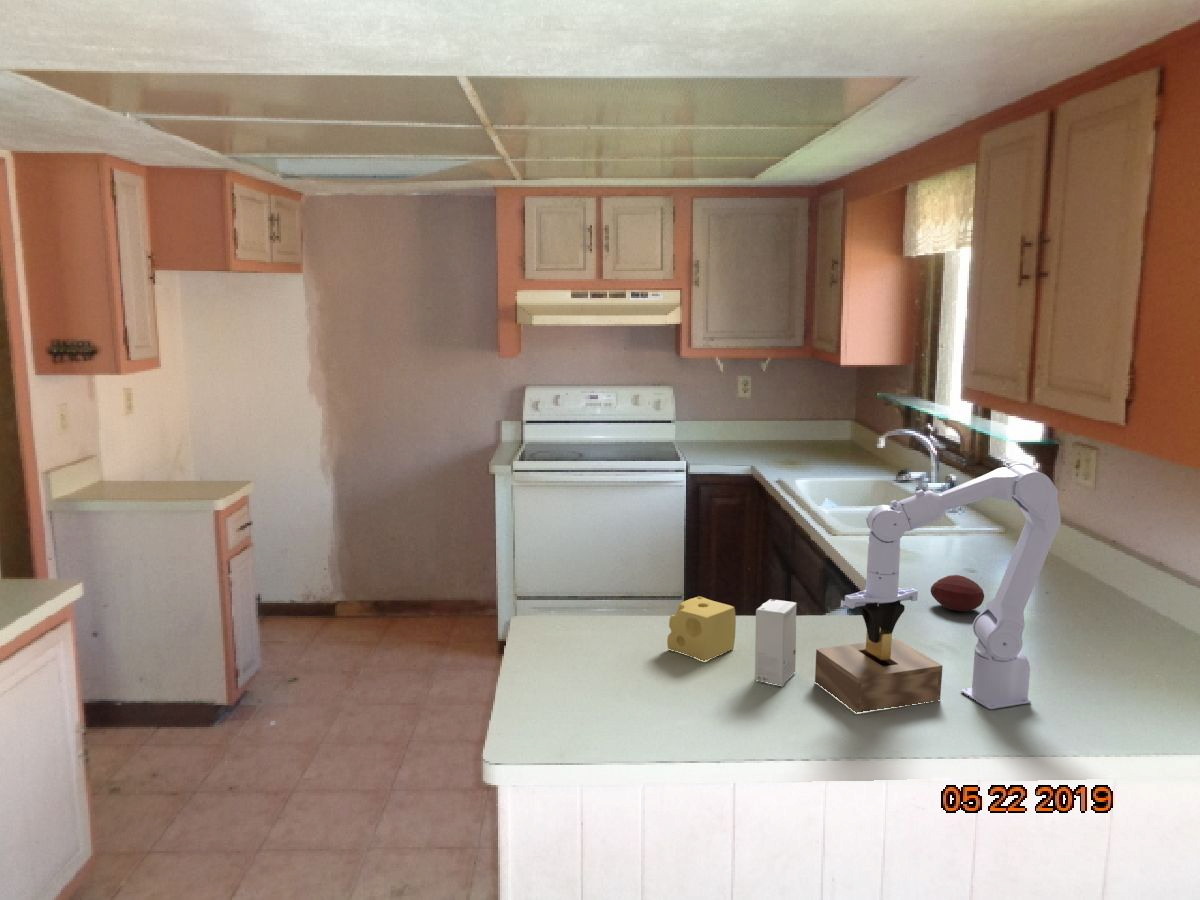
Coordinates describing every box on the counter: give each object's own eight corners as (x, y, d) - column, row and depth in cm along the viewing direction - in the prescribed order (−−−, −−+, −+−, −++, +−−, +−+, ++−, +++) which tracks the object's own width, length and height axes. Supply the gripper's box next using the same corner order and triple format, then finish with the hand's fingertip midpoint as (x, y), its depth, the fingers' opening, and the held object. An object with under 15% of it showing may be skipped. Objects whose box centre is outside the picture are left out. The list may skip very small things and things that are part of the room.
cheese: (666, 650, 192) (667, 605, 190) (699, 637, 199) (700, 593, 198) (705, 664, 185) (706, 618, 183) (737, 650, 192) (738, 605, 190)
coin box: (894, 671, 181) (896, 638, 180) (940, 701, 168) (942, 665, 167) (814, 683, 176) (816, 649, 174) (856, 714, 162) (857, 678, 161)
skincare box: (782, 688, 173) (785, 614, 171) (752, 681, 176) (754, 609, 174) (796, 672, 181) (798, 601, 178) (767, 666, 183) (769, 596, 181)
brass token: (874, 648, 173) (876, 624, 172) (890, 659, 168) (892, 633, 168) (865, 650, 172) (867, 625, 172) (881, 660, 168) (882, 634, 167)
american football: (989, 619, 210) (992, 584, 209) (941, 618, 211) (943, 584, 209) (970, 602, 222) (973, 569, 220) (924, 602, 222) (926, 569, 221)
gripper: (902, 560, 173) (898, 628, 176) (836, 567, 169) (833, 636, 171) (926, 571, 167) (922, 641, 169) (858, 578, 162) (854, 650, 165)
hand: (879, 640), depth 170 cm, fingers closed on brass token, 2 cm apart
